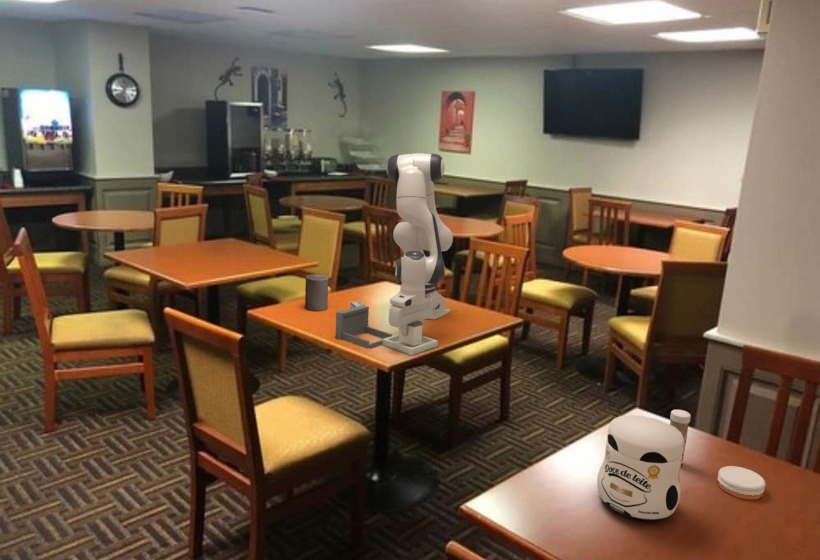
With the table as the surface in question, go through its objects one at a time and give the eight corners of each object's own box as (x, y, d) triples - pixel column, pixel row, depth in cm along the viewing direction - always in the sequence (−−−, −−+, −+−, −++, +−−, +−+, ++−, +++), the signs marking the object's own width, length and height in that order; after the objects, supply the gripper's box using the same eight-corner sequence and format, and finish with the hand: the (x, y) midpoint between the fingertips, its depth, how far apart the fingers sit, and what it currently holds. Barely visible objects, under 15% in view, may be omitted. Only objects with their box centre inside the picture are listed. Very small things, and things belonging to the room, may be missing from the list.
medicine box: (349, 322, 265) (349, 301, 263) (359, 321, 267) (360, 301, 265) (355, 328, 258) (356, 307, 256) (366, 327, 260) (367, 306, 258)
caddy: (406, 338, 245) (407, 316, 243) (421, 343, 241) (422, 321, 239) (398, 340, 242) (399, 319, 240) (413, 345, 237) (414, 323, 235)
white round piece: (768, 504, 150) (770, 490, 150) (720, 496, 153) (723, 482, 152) (757, 482, 160) (760, 469, 159) (713, 475, 162) (715, 462, 161)
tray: (408, 337, 251) (408, 331, 251) (437, 346, 242) (438, 340, 242) (381, 345, 241) (382, 339, 240) (411, 355, 232) (412, 349, 231)
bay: (362, 329, 257) (363, 305, 255) (394, 340, 246) (395, 315, 244) (335, 337, 247) (336, 311, 244) (367, 349, 236) (368, 322, 234)
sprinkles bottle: (682, 468, 164) (691, 418, 161) (663, 464, 166) (671, 414, 163) (682, 460, 168) (690, 411, 165) (663, 455, 170) (671, 407, 167)
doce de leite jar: (599, 521, 140) (609, 443, 136) (591, 479, 157) (600, 409, 152) (685, 533, 138) (698, 454, 133) (667, 489, 154) (679, 418, 150)
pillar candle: (300, 309, 280) (301, 274, 276) (312, 303, 289) (313, 270, 285) (320, 313, 276) (321, 278, 273) (332, 307, 285) (333, 273, 282)
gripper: (424, 290, 247) (422, 326, 250) (386, 299, 232) (384, 337, 235) (437, 294, 243) (435, 330, 246) (400, 303, 228) (398, 341, 231)
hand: (410, 333), depth 241 cm, fingers closed on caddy, 4 cm apart
